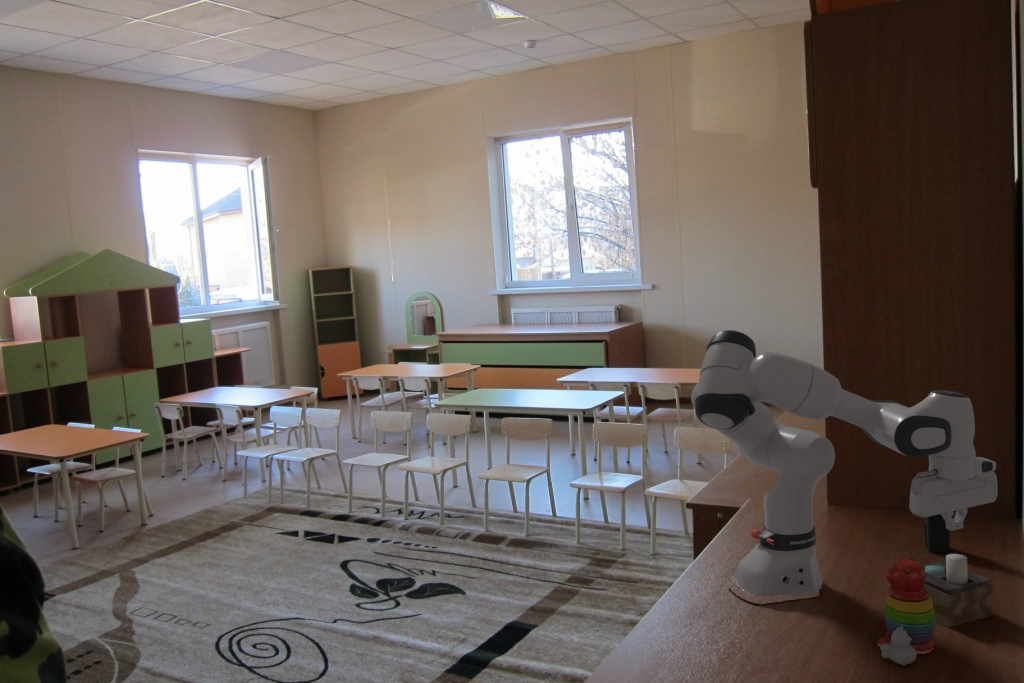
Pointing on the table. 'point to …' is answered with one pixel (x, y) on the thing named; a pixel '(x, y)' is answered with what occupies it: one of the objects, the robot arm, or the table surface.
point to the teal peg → (934, 570)
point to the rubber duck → (899, 647)
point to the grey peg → (956, 569)
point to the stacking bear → (909, 605)
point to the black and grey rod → (936, 534)
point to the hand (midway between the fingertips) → (954, 528)
